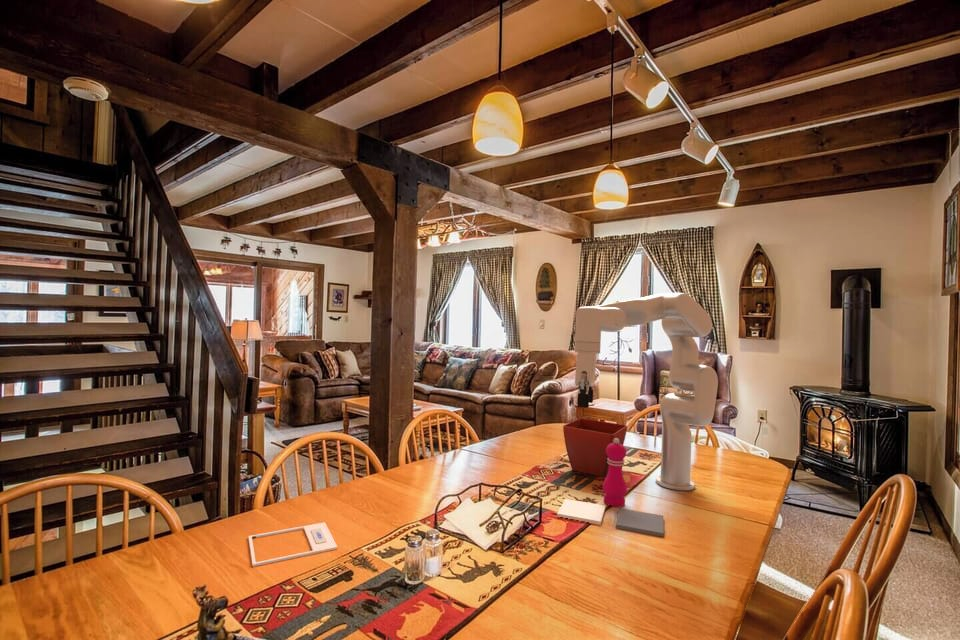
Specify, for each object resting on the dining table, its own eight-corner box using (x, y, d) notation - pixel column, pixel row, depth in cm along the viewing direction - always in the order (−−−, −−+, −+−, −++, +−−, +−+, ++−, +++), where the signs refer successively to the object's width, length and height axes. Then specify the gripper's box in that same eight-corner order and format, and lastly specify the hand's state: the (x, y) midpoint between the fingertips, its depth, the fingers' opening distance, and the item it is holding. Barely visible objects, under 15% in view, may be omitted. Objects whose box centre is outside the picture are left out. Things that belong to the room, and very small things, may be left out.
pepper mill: (627, 509, 139) (630, 442, 139) (602, 506, 140) (605, 440, 140) (625, 500, 146) (627, 436, 146) (601, 497, 148) (603, 434, 148)
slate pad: (619, 511, 137) (619, 508, 137) (663, 519, 133) (663, 515, 133) (615, 527, 126) (615, 524, 126) (663, 536, 121) (663, 533, 121)
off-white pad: (565, 501, 143) (565, 498, 143) (605, 509, 138) (605, 505, 138) (557, 517, 132) (557, 513, 132) (600, 525, 127) (600, 521, 127)
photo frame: (337, 546, 109) (252, 563, 101) (337, 550, 109) (252, 568, 101) (324, 521, 122) (248, 535, 113) (324, 525, 122) (248, 539, 113)
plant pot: (626, 468, 178) (628, 424, 178) (611, 482, 162) (613, 434, 162) (578, 459, 188) (580, 417, 188) (560, 471, 172) (561, 425, 172)
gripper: (579, 346, 149) (577, 399, 149) (570, 348, 133) (567, 408, 133) (603, 347, 147) (601, 401, 147) (596, 349, 130) (594, 410, 130)
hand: (585, 404), depth 140 cm, fingers open, 9 cm apart
